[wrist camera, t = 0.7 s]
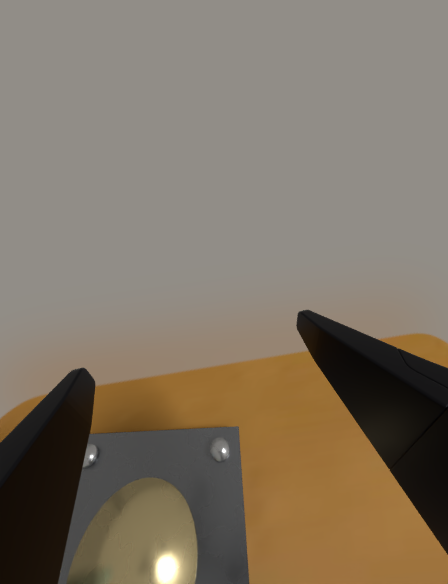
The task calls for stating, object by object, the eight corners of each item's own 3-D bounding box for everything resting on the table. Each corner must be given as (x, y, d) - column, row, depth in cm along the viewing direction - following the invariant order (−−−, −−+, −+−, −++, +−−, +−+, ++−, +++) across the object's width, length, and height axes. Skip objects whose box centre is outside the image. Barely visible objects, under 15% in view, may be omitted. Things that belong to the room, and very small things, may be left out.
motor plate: (266, 836, 9) (270, 894, 8) (-66, 835, 9) (-121, 891, 8) (238, 431, 20) (238, 424, 19) (88, 438, 20) (76, 432, 19)
